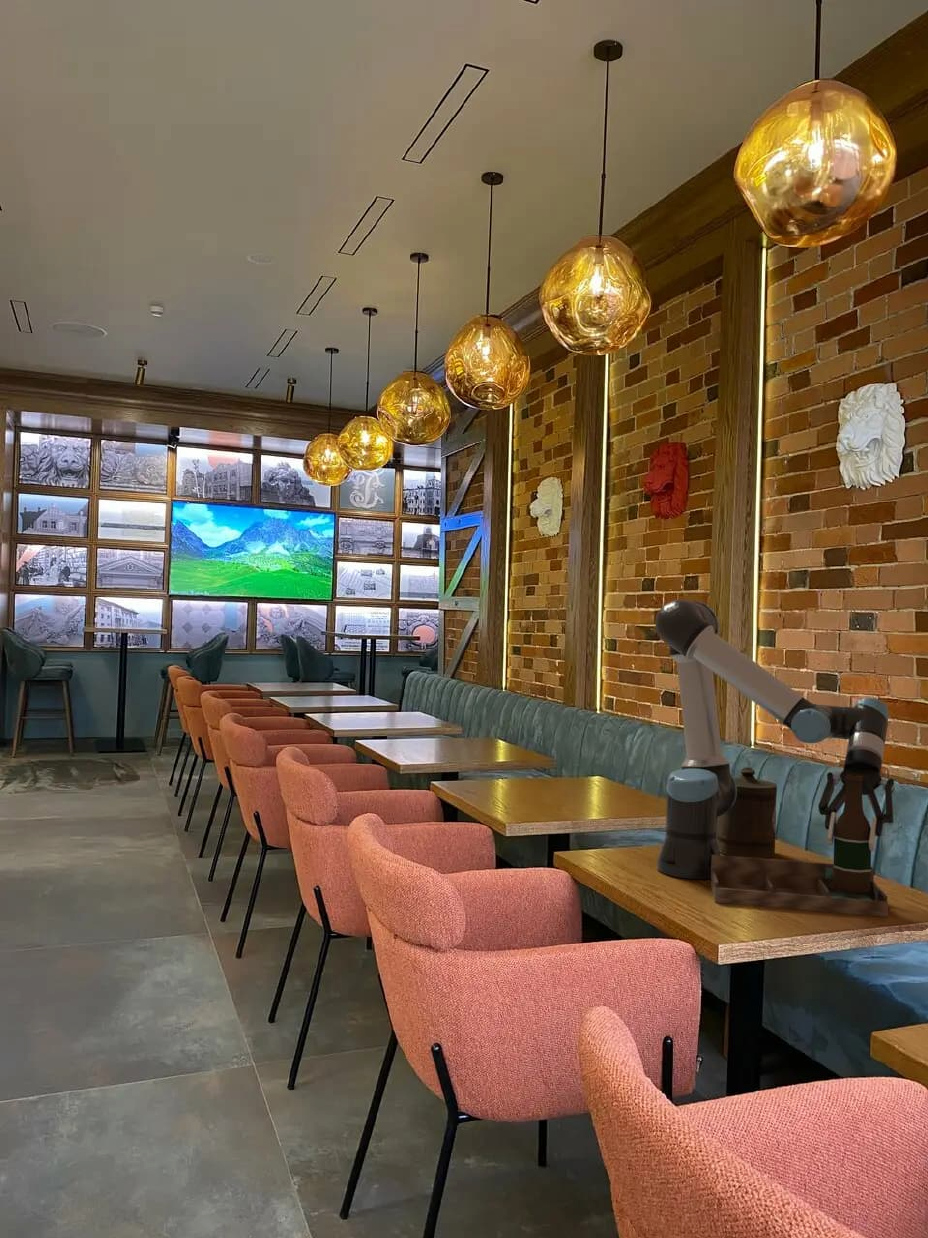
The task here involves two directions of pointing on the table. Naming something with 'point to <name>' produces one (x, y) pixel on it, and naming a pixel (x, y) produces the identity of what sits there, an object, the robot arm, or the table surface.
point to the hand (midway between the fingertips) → (850, 844)
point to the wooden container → (749, 819)
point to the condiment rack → (789, 886)
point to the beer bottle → (852, 842)
